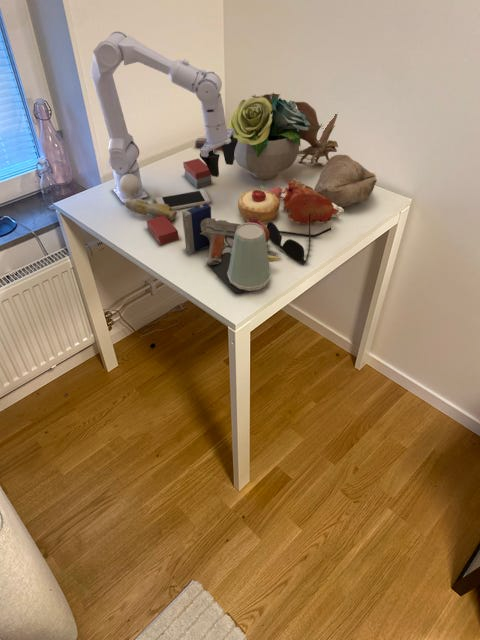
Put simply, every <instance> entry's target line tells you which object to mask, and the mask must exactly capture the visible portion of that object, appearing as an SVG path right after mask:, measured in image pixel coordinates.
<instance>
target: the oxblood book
mask: <svg viewBox="0 0 480 640" xmlns="http://www.w3.org/2000/svg"><path fill="white" fill-rule="evenodd" d="M182 165H183V169H184V171H185V170H186V171H187V172H189V173H190V174H191V175H192V176H193V177H194V178H195V179H200V178H203V177H207V176H211V177H212V175H211V173H210V171H209V169H208V167H207V165H206V164H205V162H204V161H203V160H202V159H201V158H199V157H198V158H194V159H190V160H187V161H183V162H182Z"/></svg>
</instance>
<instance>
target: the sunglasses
mask: <svg viewBox="0 0 480 640" xmlns="http://www.w3.org/2000/svg"><path fill="white" fill-rule="evenodd" d="M266 227H267V228H268V230H269V234H270V235H269V240H270V242H271V243H273V244H274V245H275V246H276V247H278V248H279V249H280V250H281V251H282V252H284V254H286V255H287V256H289V258H291V259H293V260H294V261H296V262H298V263H300V264H302V265H304V264H306V263H307V261H308V257H309V253H310V248H311V238H315V237H319V236H322V235H324V234H327V233H328V232H331V231H332V227H328V228H326V229H324V230H321V231H320V232H318V233H315V234H311V223H310V214H309V223H308V233H307V234H306V233H299V232H294V231H293V232H292V231H285V230H279V228H278V227H277V225H276V224H275V223H274V222H273V221H268V222H267V224H266ZM282 234H285V235H292V236H300V237H305V238H306V237H307V238H308V249H307V254H306V258H305V249H304V247H303V245H302V244H301V243H299V242H298V241H296V240H293V239H292V238H289V239H285V241H284V242H283V244H282V240H283V236H282Z"/></svg>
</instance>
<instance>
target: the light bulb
mask: <svg viewBox="0 0 480 640" xmlns="http://www.w3.org/2000/svg"><path fill="white" fill-rule="evenodd" d="M120 188H121V190H122V192H123V193H124V195H125V198H126V199H136V196H137V193H138V191H139V190H140V181H139V179H138V178H137V177H136V176H135V175H133V174H126V175H124V176H123V177H122V178H121V180H120Z"/></svg>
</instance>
